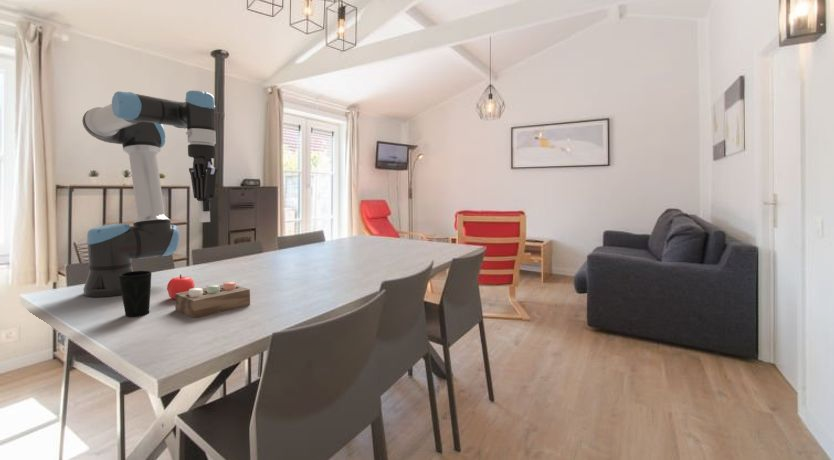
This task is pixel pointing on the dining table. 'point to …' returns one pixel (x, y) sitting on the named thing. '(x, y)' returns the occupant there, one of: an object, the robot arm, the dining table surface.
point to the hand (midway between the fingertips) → (204, 221)
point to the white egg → (195, 292)
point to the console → (212, 301)
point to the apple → (179, 285)
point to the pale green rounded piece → (213, 289)
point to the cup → (136, 292)
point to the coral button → (229, 286)
